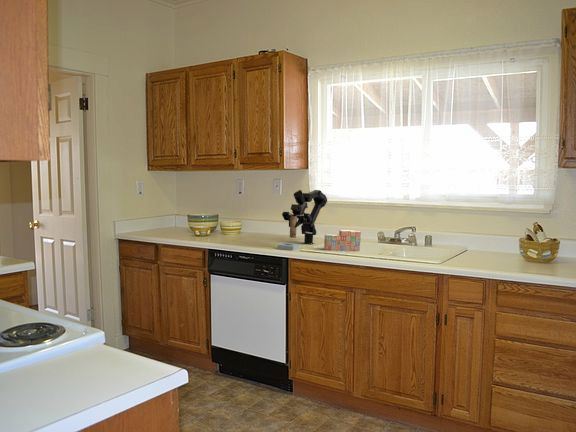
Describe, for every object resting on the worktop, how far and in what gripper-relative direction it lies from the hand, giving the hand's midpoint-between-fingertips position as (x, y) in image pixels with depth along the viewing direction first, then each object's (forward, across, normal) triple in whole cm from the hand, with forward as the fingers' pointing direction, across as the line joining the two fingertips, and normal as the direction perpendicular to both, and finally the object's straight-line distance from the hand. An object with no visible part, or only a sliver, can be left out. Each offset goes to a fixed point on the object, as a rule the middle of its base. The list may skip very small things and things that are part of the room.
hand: (292, 226), depth 320 cm
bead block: (+12, 0, +6) cm, 14 cm away
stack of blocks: (-1, +28, +20) cm, 34 cm away
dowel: (+4, 0, +6) cm, 7 cm away
